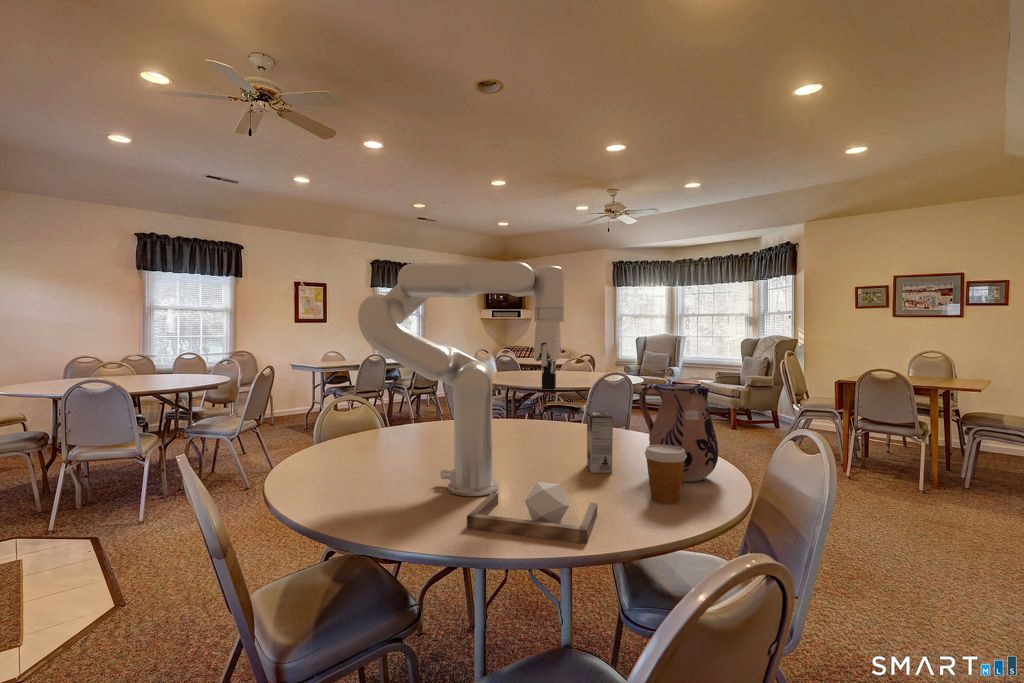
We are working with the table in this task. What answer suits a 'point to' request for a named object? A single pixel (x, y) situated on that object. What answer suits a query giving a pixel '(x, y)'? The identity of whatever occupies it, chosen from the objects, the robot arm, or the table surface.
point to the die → (547, 503)
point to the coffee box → (599, 441)
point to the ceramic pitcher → (684, 426)
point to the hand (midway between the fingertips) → (548, 388)
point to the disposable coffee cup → (665, 472)
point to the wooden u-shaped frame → (530, 523)
